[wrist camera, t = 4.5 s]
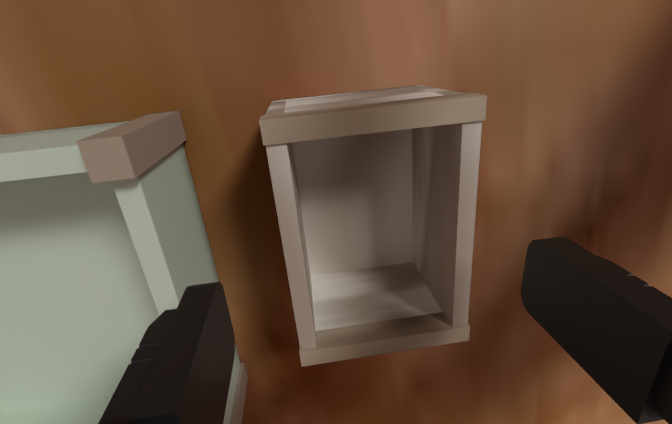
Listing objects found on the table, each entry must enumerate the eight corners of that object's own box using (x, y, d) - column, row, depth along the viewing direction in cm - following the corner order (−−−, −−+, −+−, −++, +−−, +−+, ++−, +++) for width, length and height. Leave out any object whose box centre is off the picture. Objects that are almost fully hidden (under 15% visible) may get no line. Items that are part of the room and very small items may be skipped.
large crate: (179, 110, 15) (121, 136, 10) (248, 377, 21) (233, 476, 16) (-249, 156, 14) (-555, 210, 9) (-46, 423, 20) (-160, 545, 15)
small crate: (422, 83, 15) (487, 95, 10) (421, 265, 19) (469, 340, 14) (270, 99, 15) (258, 120, 10) (299, 282, 19) (301, 366, 13)
